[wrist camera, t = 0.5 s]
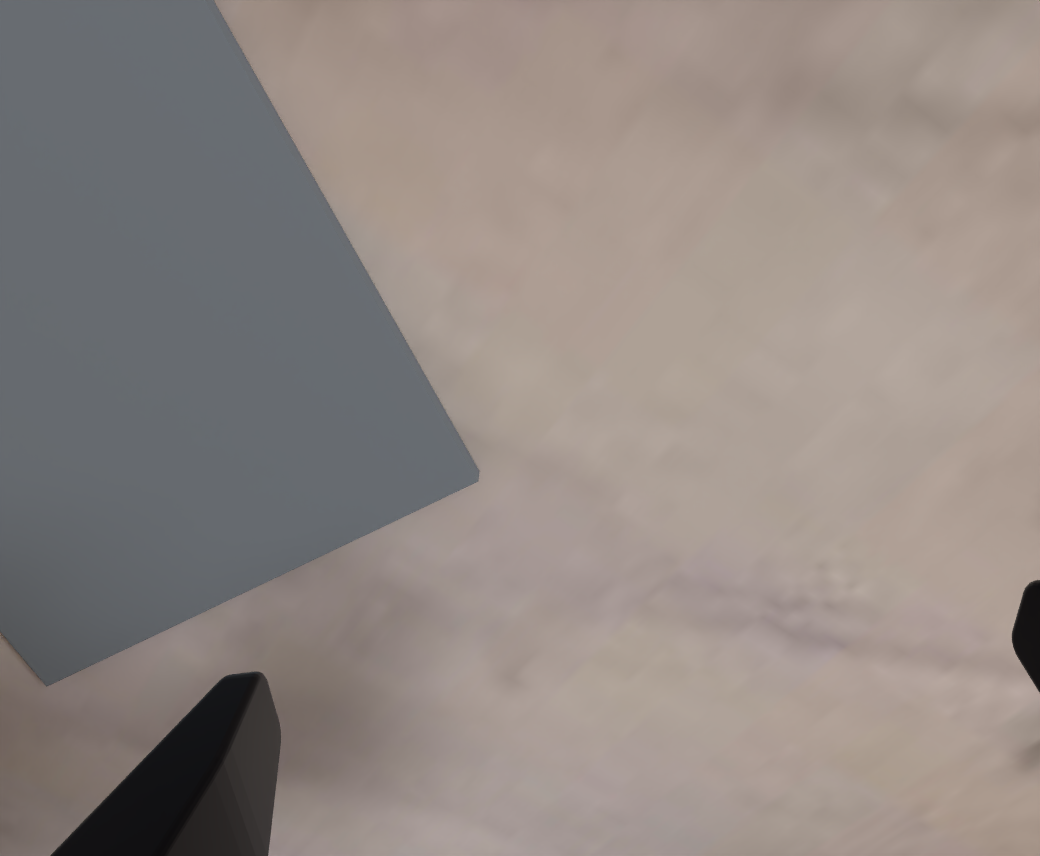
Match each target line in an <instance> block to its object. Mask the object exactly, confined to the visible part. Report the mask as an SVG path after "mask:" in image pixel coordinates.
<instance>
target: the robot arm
mask: <svg viewBox="0 0 1040 856" xmlns="http://www.w3.org/2000/svg"><path fill="white" fill-rule="evenodd" d="M1012 643H1013V647H1014V650H1015V653H1016V655H1017V657H1018V658H1019V660H1020V662H1021V663H1022V665H1023V666H1024V668H1025V670H1026V671H1027V673H1028V675H1029V676H1030V678H1031V679H1032V681H1033V683H1034V684H1035V686H1036V688H1037V689H1038V691H1039V692H1040V580H1036V581H1033V582H1031V583H1029V584H1028V586H1027V587H1026V588H1025V590H1024V592H1023V596H1022V599H1021V603H1020V606H1019V610H1018V613H1017V617H1016V620H1015V624H1014V627H1013V631H1012ZM280 745H281V731H280V724H279V720H278V716H277V713H276V709H275V706H274V702H273V699H272V695H271V692H270V688H269V685H268V682H267V679H266V677H265V676H264V674H262V673H260V672H249V673H240V674H232V675H228V676H226V677H224V678H222V679H221V680H220V681H219V682H218V683H217V684H216V685H215V686H214V687H213V688H212V689H211V690H210V691H209V692H208V693H207V694H206V695H205V696H204V698H203V699H202V700H201V701H200V702H199V703H198V704H197V705H196V706H195V707H194V708H193V709H192V710H191V711H190V712H189V713H188V714H187V715H186V716H185V717H184V718H183V719H182V720H181V721H180V722H179V723H178V724H177V725H176V726H175V727H174V728H173V730H172V731H171V732H170V733H169V734H168V735H167V736H166V737H165V738H164V739H163V740H162V741H161V742H160V743H159V744H158V745H157V746H156V747H155V748H154V749H153V750H152V751H151V752H150V753H149V754H148V755H147V756H146V757H145V758H144V759H143V760H142V762H141V763H140V764H139V765H138V766H137V767H136V768H135V769H134V770H133V771H132V772H131V773H130V774H129V775H128V776H127V777H126V778H125V779H124V780H123V781H122V782H121V783H120V784H119V785H118V786H117V787H116V788H115V789H114V790H113V791H112V792H111V793H110V795H109V796H108V797H107V798H106V799H105V800H104V801H103V802H102V803H101V804H100V805H99V806H98V807H97V808H96V809H95V810H94V811H93V812H92V813H91V814H90V815H89V816H88V817H87V818H86V819H85V820H84V821H83V822H82V823H81V824H80V825H79V827H78V828H77V829H76V830H75V831H74V832H73V833H72V834H71V835H70V836H69V837H68V838H67V839H66V840H65V841H64V842H63V843H62V844H61V845H60V846H59V847H58V848H57V849H56V850H55V851H54V852H53V853H52V854H51V855H50V856H268V852H269V843H270V834H271V825H272V817H273V808H274V799H275V790H276V781H277V772H278V763H279V754H280Z"/></svg>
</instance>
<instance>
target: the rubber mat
mask: <svg viewBox="0 0 1040 856" xmlns="http://www.w3.org/2000/svg"><path fill="white" fill-rule="evenodd" d="M478 479H479V470H478V468H477V466H476V464H475V463H474V461H473V459H472V457H471V455H470V454H469V452H468V450H467V448H466V447H465V445H464V443H463V441H462V440H461V438H460V436H459V434H458V432H457V431H456V429H455V427H454V425H453V424H452V422H451V420H450V418H449V417H448V415H447V413H446V411H445V409H444V408H443V406H442V404H441V402H440V401H439V399H438V397H437V395H436V393H435V392H434V390H433V388H432V386H431V385H430V383H429V381H428V379H427V378H426V376H425V374H424V372H423V370H422V369H421V367H420V365H419V363H418V362H417V360H416V358H415V356H414V355H413V353H412V351H411V349H410V347H409V346H408V344H407V342H406V340H405V339H404V337H403V335H402V333H401V332H400V330H399V328H398V326H397V324H396V323H395V321H394V319H393V317H392V316H391V314H390V312H389V310H388V309H387V307H386V305H385V303H384V301H383V300H382V298H381V296H380V294H379V293H378V291H377V289H376V287H375V285H374V284H373V282H372V280H371V278H370V277H369V275H368V273H367V271H366V270H365V268H364V266H363V264H362V262H361V261H360V259H359V257H358V255H357V254H356V252H355V250H354V248H353V247H352V245H351V243H350V241H349V239H348V238H347V236H346V234H345V232H344V231H343V229H342V227H341V225H340V224H339V222H338V220H337V218H336V216H335V215H334V213H333V211H332V209H331V208H330V206H329V204H328V202H327V200H326V199H325V197H324V195H323V193H322V192H321V190H320V188H319V186H318V185H317V183H316V181H315V179H314V177H313V176H312V174H311V172H310V170H309V169H308V167H307V165H306V163H305V162H304V160H303V158H302V156H301V154H300V153H299V151H298V149H297V147H296V146H295V144H294V142H293V140H292V139H291V137H290V135H289V133H288V131H287V130H286V128H285V126H284V124H283V123H282V121H281V119H280V117H279V116H278V114H277V112H276V110H275V108H274V107H273V105H272V103H271V101H270V100H269V98H268V96H267V94H266V92H265V91H264V89H263V87H262V85H261V84H260V82H259V80H258V78H257V77H256V75H255V73H254V71H253V69H252V68H251V66H250V64H249V62H248V61H247V59H246V57H245V55H244V54H243V52H242V50H241V48H240V46H239V45H238V43H237V41H236V39H235V38H234V36H233V34H232V32H231V31H230V29H229V27H228V25H227V23H226V22H225V20H224V18H223V16H222V15H221V13H220V11H219V9H218V8H217V6H216V4H215V2H214V0H0V632H1V633H2V634H3V635H4V637H5V638H6V639H7V640H8V641H9V643H10V644H11V645H12V646H13V647H14V648H15V650H16V651H17V652H18V653H19V654H20V656H21V657H22V658H23V659H24V660H25V661H26V663H27V664H28V665H29V666H30V667H31V669H32V670H33V671H34V672H35V673H36V674H37V676H38V677H39V678H40V679H41V680H42V682H43V683H44V684H45V685H46V686H49V685H51V684H53V683H55V682H57V681H59V680H62V679H64V678H66V677H68V676H70V675H72V674H74V673H76V672H78V671H81V670H83V669H85V668H87V667H89V666H91V665H93V664H95V663H97V662H99V661H102V660H104V659H106V658H108V657H110V656H112V655H114V654H116V653H118V652H120V651H123V650H125V649H127V648H129V647H131V646H133V645H135V644H137V643H139V642H141V641H144V640H146V639H148V638H150V637H152V636H154V635H156V634H158V633H160V632H163V631H165V630H167V629H169V628H171V627H173V626H175V625H177V624H179V623H181V622H184V621H186V620H188V619H190V618H192V617H194V616H196V615H198V614H200V613H202V612H205V611H207V610H209V609H211V608H213V607H215V606H217V605H219V604H221V603H223V602H226V601H228V600H230V599H232V598H234V597H236V596H238V595H240V594H242V593H245V592H247V591H249V590H251V589H253V588H255V587H257V586H259V585H261V584H263V583H266V582H268V581H270V580H272V579H274V578H276V577H278V576H280V575H282V574H284V573H287V572H289V571H291V570H293V569H295V568H297V567H299V566H301V565H303V564H305V563H308V562H310V561H312V560H314V559H316V558H318V557H320V556H322V555H324V554H327V553H329V552H331V551H333V550H335V549H337V548H339V547H341V546H343V545H345V544H348V543H350V542H352V541H354V540H356V539H358V538H360V537H362V536H364V535H366V534H369V533H371V532H373V531H375V530H377V529H379V528H381V527H383V526H385V525H387V524H390V523H392V522H394V521H396V520H398V519H400V518H402V517H404V516H406V515H409V514H411V513H413V512H415V511H417V510H419V509H421V508H423V507H425V506H427V505H430V504H432V503H434V502H436V501H438V500H440V499H442V498H444V497H446V496H448V495H451V494H453V493H455V492H457V491H459V490H461V489H463V488H465V487H467V486H469V485H472V484H474V483H476V482H478Z"/></svg>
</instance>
